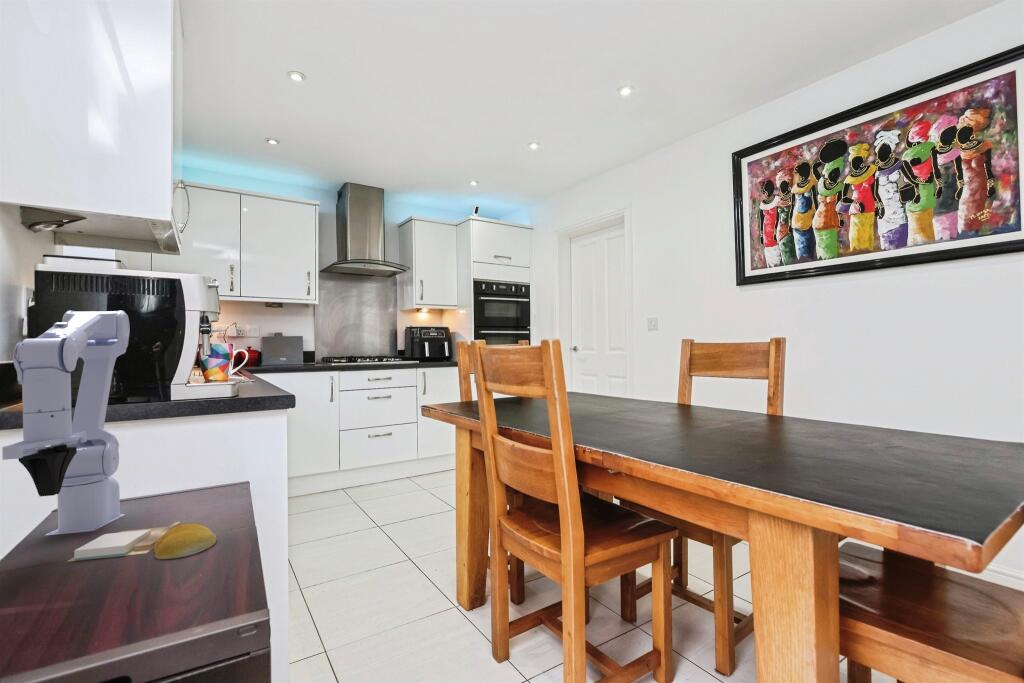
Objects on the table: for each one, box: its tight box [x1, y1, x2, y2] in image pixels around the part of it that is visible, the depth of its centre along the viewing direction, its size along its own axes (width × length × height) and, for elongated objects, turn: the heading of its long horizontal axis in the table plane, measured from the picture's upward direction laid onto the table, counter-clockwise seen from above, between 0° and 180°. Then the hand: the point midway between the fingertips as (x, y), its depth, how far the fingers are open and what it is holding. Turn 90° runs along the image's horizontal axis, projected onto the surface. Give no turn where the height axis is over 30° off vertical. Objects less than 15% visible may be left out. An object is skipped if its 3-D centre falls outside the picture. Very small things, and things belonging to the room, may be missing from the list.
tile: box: [73, 530, 151, 561], centre depth 78 cm, size 2×7×7 cm
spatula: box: [134, 521, 182, 551], centre depth 82 cm, size 11×2×1 cm, turn 10°
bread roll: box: [153, 523, 218, 560], centre depth 77 cm, size 8×9×4 cm
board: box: [66, 526, 168, 562], centre depth 81 cm, size 13×11×1 cm
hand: (49, 494), depth 78 cm, fingers closed
